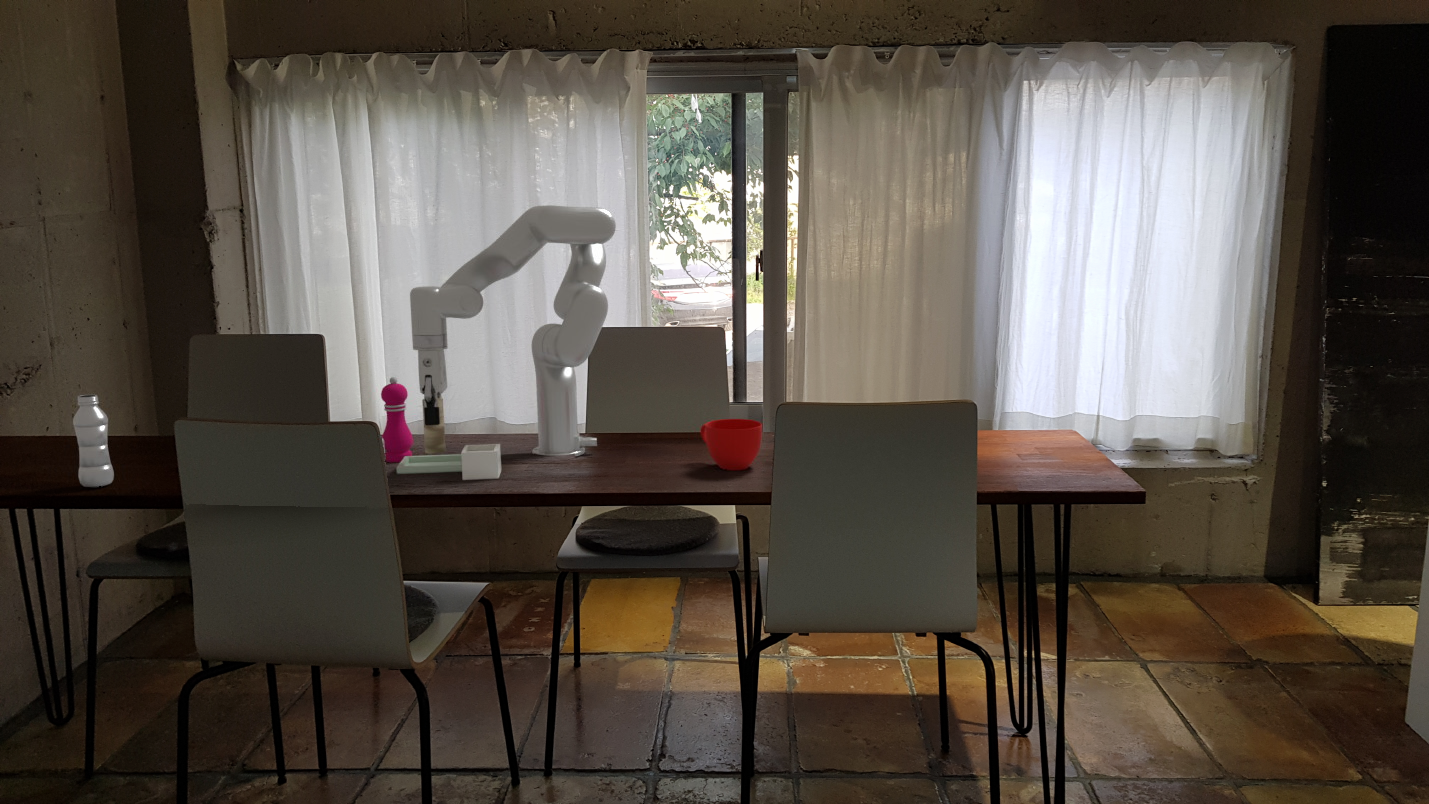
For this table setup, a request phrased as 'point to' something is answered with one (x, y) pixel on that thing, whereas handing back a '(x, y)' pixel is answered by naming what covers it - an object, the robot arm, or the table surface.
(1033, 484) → the table surface
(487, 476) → the box
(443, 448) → the beige ringed cylinder
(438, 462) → the tray
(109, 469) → the plastic bottle
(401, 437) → the pepper mill
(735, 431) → the ceramic cup
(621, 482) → the table surface
